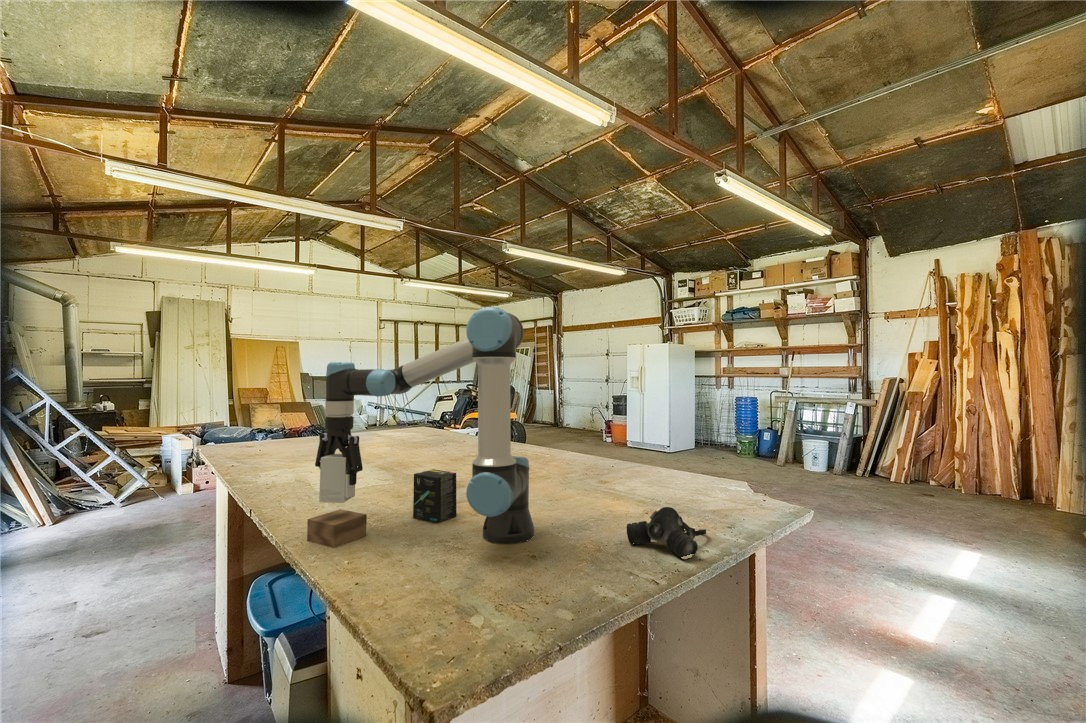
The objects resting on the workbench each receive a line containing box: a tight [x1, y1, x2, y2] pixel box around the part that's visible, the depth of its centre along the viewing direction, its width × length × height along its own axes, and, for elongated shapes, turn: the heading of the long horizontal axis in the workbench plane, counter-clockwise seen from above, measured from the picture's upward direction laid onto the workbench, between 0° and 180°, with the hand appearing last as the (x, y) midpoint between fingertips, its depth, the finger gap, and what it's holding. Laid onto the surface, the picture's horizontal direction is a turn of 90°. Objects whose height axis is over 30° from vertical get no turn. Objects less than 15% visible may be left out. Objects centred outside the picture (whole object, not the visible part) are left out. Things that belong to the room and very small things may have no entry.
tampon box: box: [412, 469, 458, 524], centre depth 152 cm, size 11×9×15 cm
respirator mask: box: [626, 506, 707, 558], centre depth 131 cm, size 20×22×15 cm
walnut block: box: [306, 508, 368, 548], centre depth 133 cm, size 11×11×6 cm
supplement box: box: [318, 453, 355, 504], centre depth 133 cm, size 7×7×13 cm
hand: (337, 494), depth 133 cm, fingers closed on supplement box, 9 cm apart
